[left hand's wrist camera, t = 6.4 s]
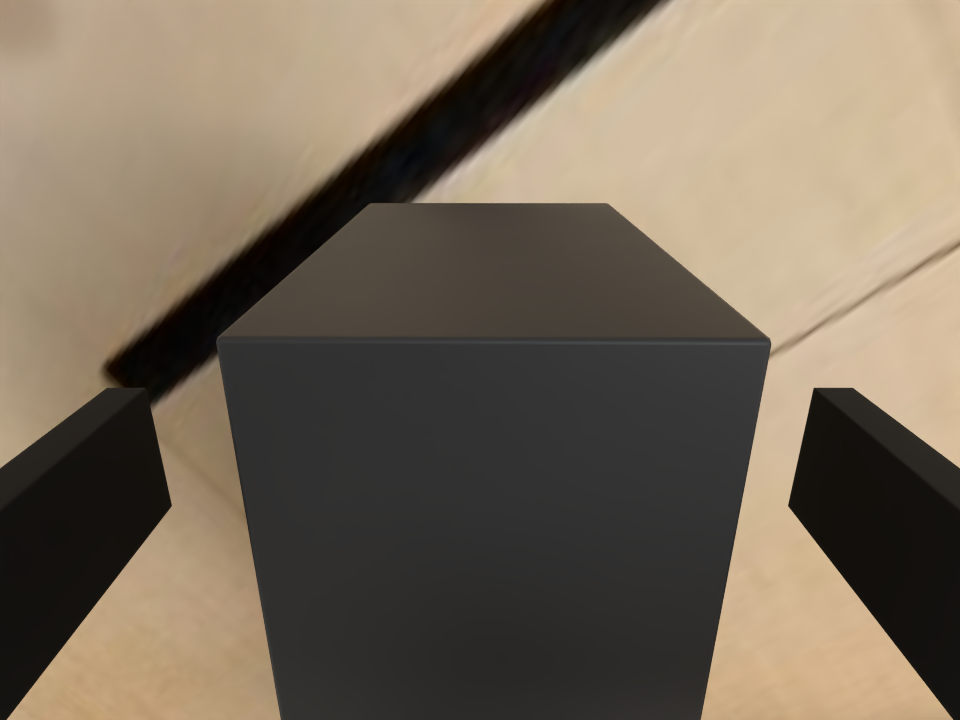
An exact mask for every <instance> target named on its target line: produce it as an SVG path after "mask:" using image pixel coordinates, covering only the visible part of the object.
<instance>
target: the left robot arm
mask: <svg viewBox="0 0 960 720" xmlns="http://www.w3.org/2000/svg"><path fill="white" fill-rule="evenodd" d="M171 506H172V504H171V500H170V495H169V490H168V486H167V481H166V477H165V472H164V467H163V463H162V458H161V454H160V449H159V445H158V440H157V435H156V431H155V426H154V422H153V417H152V412H151V408H150V403H149V399H148V394H147V390H146V388H106V389H105V390H104V391H102V392H101V393H100V394H98V395H97V396H96V397H94V398H93V399H92V400H90V401H89V402H88V403H87V404H85V405H84V406H83V407H81V408H80V409H79V410H77V411H76V412H75V413H73V414H72V415H71V416H69V417H68V418H67V419H65V420H64V421H63V422H61V423H60V424H59V425H57V426H56V427H55V428H53V429H52V430H51V431H49V432H48V433H47V434H45V435H44V436H43V437H41V438H40V439H39V440H37V441H36V442H35V443H33V444H32V445H31V446H29V447H28V448H27V449H25V450H24V451H23V452H21V453H20V454H19V455H17V456H16V457H15V458H13V459H12V460H11V461H9V462H8V463H7V464H5V465H4V466H3V467H1V468H0V720H7V718H8V717H9V716H10V715H11V713H12V712H13V711H14V709H15V708H16V707H17V706H18V704H19V703H20V702H21V700H22V699H23V698H24V696H25V695H26V694H27V693H28V691H29V690H30V689H31V687H32V686H33V685H34V684H35V682H36V681H37V680H38V678H39V677H40V676H41V674H42V673H43V672H44V671H45V669H46V668H47V667H48V665H49V664H50V663H51V662H52V660H53V659H54V658H55V656H56V655H57V654H58V652H59V651H60V650H61V649H62V647H63V646H64V645H65V643H66V642H67V641H68V640H69V638H70V637H71V636H72V634H73V633H74V632H75V631H76V629H77V628H78V627H79V625H80V624H81V623H82V621H83V620H84V619H85V618H86V616H87V615H88V614H89V612H90V611H91V610H92V609H93V607H94V606H95V605H96V603H97V602H98V601H99V599H100V598H101V597H102V596H103V594H104V593H105V592H106V590H107V589H108V588H109V587H110V585H111V584H112V583H113V581H114V580H115V579H116V577H117V576H118V575H119V574H120V572H121V571H122V570H123V568H124V567H125V566H126V565H127V563H128V562H129V561H130V559H131V558H132V557H133V555H134V554H135V553H136V552H137V550H138V549H139V548H140V546H141V545H142V544H143V543H144V541H145V540H146V539H147V537H148V536H149V535H150V534H151V532H152V531H153V530H154V528H155V527H156V526H157V524H158V523H159V522H160V521H161V519H162V518H163V517H164V515H165V514H166V513H167V512H168V510H169V509H170V508H171ZM788 506H789V508H790V509H791V510H792V512H793V513H794V514H795V515H796V517H797V518H798V519H799V521H800V522H801V523H802V524H803V526H804V527H805V528H806V530H807V531H808V532H809V534H810V535H811V536H812V537H813V539H814V540H815V541H816V543H817V544H818V545H819V546H820V548H821V549H822V550H823V552H824V553H825V554H826V555H827V557H828V558H829V559H830V561H831V562H832V563H833V565H834V566H835V567H836V568H837V570H838V571H839V572H840V574H841V575H842V576H843V577H844V579H845V580H846V581H847V583H848V584H849V585H850V587H851V588H852V589H853V590H854V592H855V593H856V594H857V596H858V597H859V598H860V599H861V601H862V602H863V603H864V605H865V606H866V607H867V609H868V610H869V611H870V612H871V614H872V615H873V616H874V618H875V619H876V620H877V621H878V623H879V624H880V625H881V627H882V628H883V629H884V631H885V632H886V633H887V634H888V636H889V637H890V638H891V640H892V641H893V642H894V643H895V645H896V646H897V647H898V649H899V650H900V651H901V652H902V654H903V655H904V656H905V658H906V659H907V660H908V662H909V663H910V664H911V665H912V667H913V668H914V669H915V671H916V672H917V673H918V674H919V676H920V677H921V678H922V680H923V681H924V682H925V684H926V685H927V686H928V687H929V689H930V690H931V691H932V693H933V694H934V695H935V696H936V698H937V699H938V700H939V702H940V703H941V704H942V706H943V707H944V708H945V709H946V711H947V712H948V713H949V715H950V716H951V717H952V718H953V720H960V468H959V467H957V466H956V465H955V464H953V463H952V462H951V461H949V460H948V459H947V458H945V457H944V456H943V455H941V454H940V453H939V452H937V451H936V450H935V449H933V448H932V447H931V446H929V445H928V444H927V443H925V442H924V441H923V440H921V439H920V438H919V437H917V436H916V435H915V434H913V433H912V432H911V431H909V430H908V429H907V428H905V427H904V426H903V425H901V424H900V423H899V422H897V421H896V420H895V419H893V418H892V417H891V416H889V415H888V414H887V413H885V412H884V411H883V410H881V409H880V408H879V407H877V406H876V405H875V404H873V403H872V402H871V401H870V400H868V399H867V398H866V397H864V396H863V395H862V394H860V393H859V392H858V391H856V390H855V389H854V388H814V389H813V394H812V399H811V403H810V408H809V412H808V417H807V422H806V426H805V431H804V435H803V440H802V445H801V449H800V454H799V458H798V463H797V467H796V472H795V477H794V481H793V486H792V490H791V495H790V500H789V504H788Z"/></svg>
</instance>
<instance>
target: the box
mask: <svg viewBox="0 0 960 720" xmlns="http://www.w3.org/2000/svg"><path fill="white" fill-rule="evenodd" d="M216 344H217V350H218V356H219V361H220V367H221V373H222V379H223V385H224V391H225V396H226V402H227V408H228V414H229V420H230V426H231V431H232V437H233V443H234V449H235V455H236V460H237V466H238V472H239V478H240V484H241V490H242V495H243V501H244V507H245V513H246V519H247V525H248V530H249V536H250V542H251V548H252V554H253V559H254V565H255V571H256V577H257V583H258V589H259V594H260V600H261V606H262V612H263V618H264V624H265V629H266V635H267V641H268V647H269V653H270V658H271V664H272V670H273V676H274V682H275V688H276V693H277V699H278V705H279V711H280V717H281V720H701V715H702V710H703V704H704V699H705V694H706V688H707V683H708V678H709V672H710V667H711V662H712V657H713V651H714V646H715V641H716V635H717V630H718V625H719V619H720V614H721V609H722V603H723V598H724V593H725V588H726V582H727V577H728V572H729V566H730V561H731V556H732V550H733V545H734V540H735V534H736V529H737V524H738V519H739V513H740V508H741V503H742V497H743V492H744V487H745V481H746V476H747V471H748V465H749V460H750V455H751V449H752V444H753V439H754V434H755V428H756V423H757V418H758V412H759V407H760V402H761V396H762V391H763V386H764V380H765V375H766V370H767V365H768V359H769V354H770V349H771V341H770V338H768V337H767V336H766V335H765V334H764V333H762V332H761V331H760V330H759V329H758V328H756V327H755V326H754V325H753V324H752V323H750V322H749V321H748V320H747V319H746V318H744V317H743V316H742V315H741V314H740V313H739V312H737V311H736V310H735V309H734V308H733V307H731V306H730V305H729V304H728V303H727V302H725V301H724V300H723V299H722V298H721V297H719V296H718V295H717V294H716V293H715V292H713V291H712V290H711V289H710V288H709V287H707V286H706V285H705V284H704V283H703V282H701V281H700V280H699V279H698V278H697V277H695V276H694V275H693V274H692V273H691V272H689V271H688V270H687V269H686V268H685V267H683V266H682V265H681V264H680V263H679V262H677V261H676V260H675V259H674V258H673V257H671V256H670V255H669V254H668V253H667V252H665V251H664V250H663V249H662V248H661V247H659V246H658V245H657V244H656V243H655V242H653V241H652V240H651V239H650V238H649V237H647V236H646V235H645V234H644V233H643V232H641V231H640V230H639V229H638V228H637V227H635V226H634V225H633V224H632V223H631V222H629V221H628V220H627V219H626V218H625V217H623V216H622V215H621V214H620V213H619V212H617V211H616V210H615V209H614V208H613V207H611V206H610V205H609V204H607V203H371V204H369V205H368V206H367V207H365V208H364V209H363V210H362V211H361V212H360V213H359V214H357V215H356V216H355V217H354V218H353V219H352V220H351V221H350V222H348V223H347V224H346V225H345V226H344V227H343V228H342V229H340V230H339V231H338V232H337V233H336V234H335V235H334V236H332V237H331V238H330V239H329V240H328V241H327V242H326V243H324V244H323V245H322V246H321V247H320V248H319V249H318V250H317V251H315V252H314V253H313V254H312V255H311V256H310V257H309V258H307V259H306V260H305V261H304V262H303V263H302V264H301V265H299V266H298V267H297V268H296V269H295V270H294V271H293V272H291V273H290V274H289V275H288V276H287V277H286V278H285V279H284V280H282V281H281V282H280V283H279V284H278V285H277V286H276V287H274V288H273V289H272V290H271V291H270V292H269V293H268V294H266V295H265V296H264V297H263V298H262V299H261V300H260V301H259V302H257V303H256V304H255V305H254V306H253V307H252V308H251V309H249V310H248V311H247V312H246V313H245V314H244V315H243V316H241V317H240V318H239V319H238V320H237V321H236V322H235V323H233V324H232V325H231V326H230V327H229V328H228V329H227V330H226V331H224V332H223V333H222V334H221V335H220V336H219V337H218V338H217V341H216Z"/></svg>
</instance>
